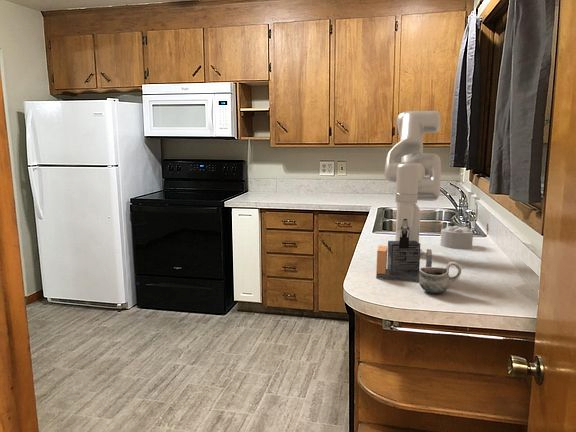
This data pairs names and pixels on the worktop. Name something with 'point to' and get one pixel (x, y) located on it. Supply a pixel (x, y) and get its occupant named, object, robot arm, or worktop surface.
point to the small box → (403, 256)
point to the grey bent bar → (405, 272)
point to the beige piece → (456, 237)
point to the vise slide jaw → (381, 259)
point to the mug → (437, 278)
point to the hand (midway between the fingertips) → (404, 245)
